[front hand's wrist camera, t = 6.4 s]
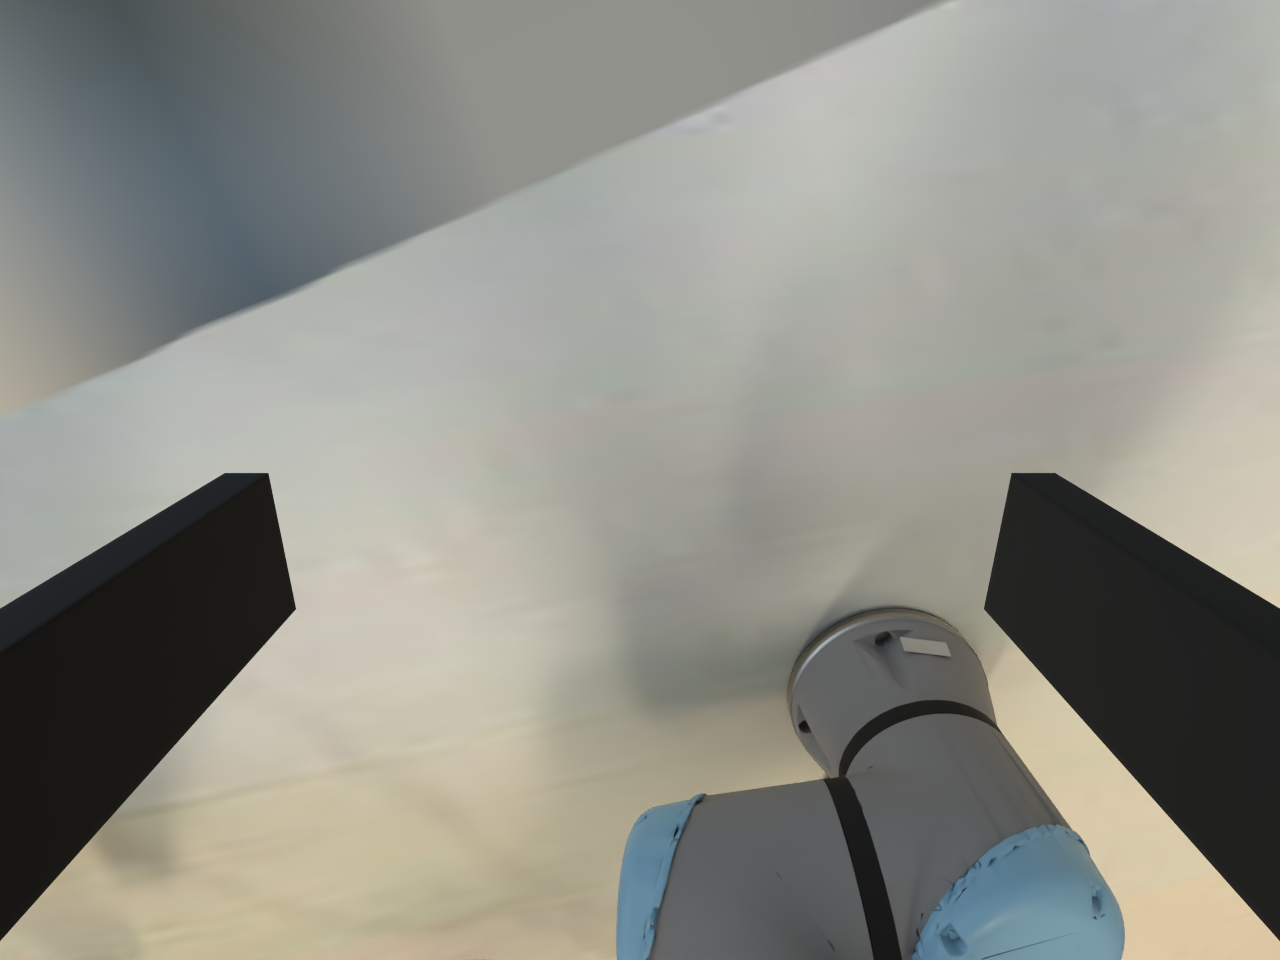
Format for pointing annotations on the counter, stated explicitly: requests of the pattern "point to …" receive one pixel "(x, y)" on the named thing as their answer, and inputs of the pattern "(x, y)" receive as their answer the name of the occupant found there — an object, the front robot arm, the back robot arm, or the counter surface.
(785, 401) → the counter surface
